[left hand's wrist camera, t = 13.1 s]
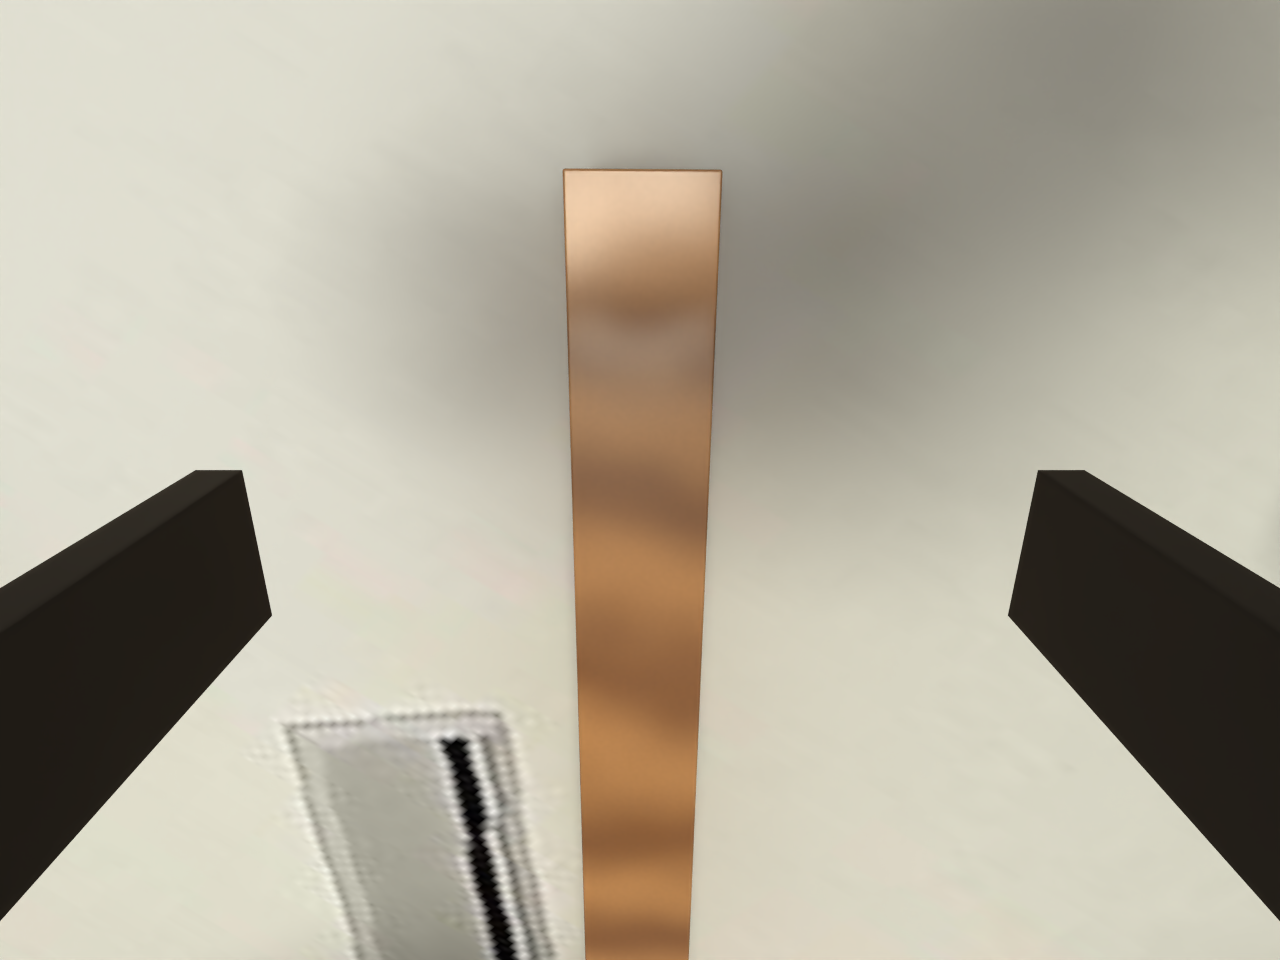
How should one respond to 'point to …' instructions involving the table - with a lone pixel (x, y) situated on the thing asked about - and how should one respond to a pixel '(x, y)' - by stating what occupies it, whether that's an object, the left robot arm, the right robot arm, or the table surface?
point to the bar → (639, 536)
